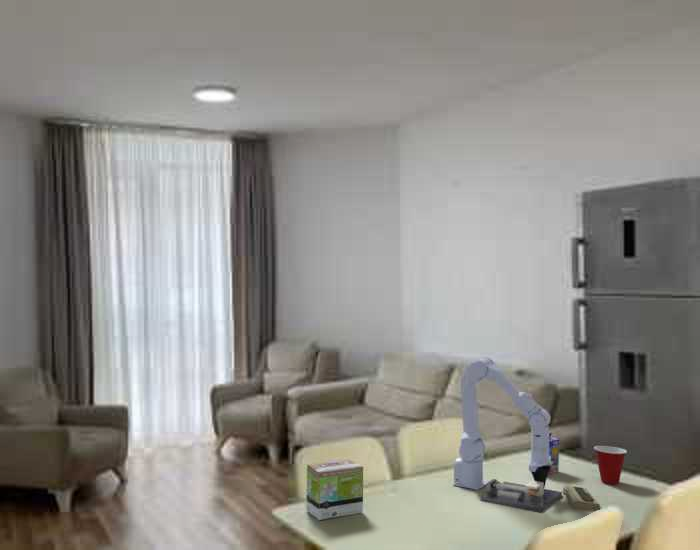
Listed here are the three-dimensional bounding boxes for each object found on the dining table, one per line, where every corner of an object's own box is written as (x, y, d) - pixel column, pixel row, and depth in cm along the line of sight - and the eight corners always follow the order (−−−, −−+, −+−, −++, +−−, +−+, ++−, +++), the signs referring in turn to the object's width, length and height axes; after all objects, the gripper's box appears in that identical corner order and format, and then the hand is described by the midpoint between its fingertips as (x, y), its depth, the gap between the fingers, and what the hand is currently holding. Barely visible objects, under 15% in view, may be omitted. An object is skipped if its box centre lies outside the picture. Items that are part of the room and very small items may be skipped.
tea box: (319, 521, 211) (319, 472, 211) (306, 511, 220) (305, 464, 220) (364, 513, 218) (363, 465, 218) (349, 503, 227) (348, 457, 227)
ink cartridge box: (542, 476, 254) (542, 436, 254) (530, 473, 259) (529, 433, 259) (560, 471, 260) (559, 432, 260) (548, 468, 265) (547, 429, 264)
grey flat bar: (491, 488, 233) (491, 483, 233) (496, 485, 236) (496, 480, 236) (534, 495, 225) (534, 490, 225) (539, 492, 228) (538, 487, 228)
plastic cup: (633, 483, 245) (633, 448, 245) (614, 489, 239) (614, 453, 239) (607, 476, 254) (606, 442, 254) (587, 481, 248) (587, 447, 248)
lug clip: (525, 497, 228) (525, 485, 228) (532, 492, 233) (532, 480, 233) (536, 499, 226) (536, 487, 226) (543, 494, 231) (543, 482, 231)
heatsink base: (480, 500, 229) (480, 486, 229) (504, 485, 245) (504, 472, 245) (540, 512, 218) (540, 497, 218) (561, 495, 233) (561, 482, 233)
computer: (600, 511, 220) (600, 500, 220) (573, 510, 220) (573, 499, 220) (587, 494, 235) (587, 484, 235) (562, 494, 236) (562, 484, 236)
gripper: (543, 453, 225) (544, 496, 225) (559, 444, 237) (559, 484, 237) (522, 450, 229) (522, 492, 229) (539, 441, 241) (539, 481, 241)
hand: (540, 488), depth 233 cm, fingers closed
